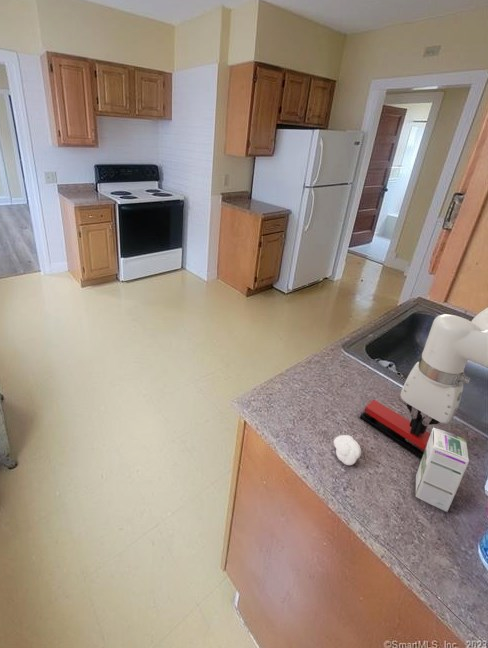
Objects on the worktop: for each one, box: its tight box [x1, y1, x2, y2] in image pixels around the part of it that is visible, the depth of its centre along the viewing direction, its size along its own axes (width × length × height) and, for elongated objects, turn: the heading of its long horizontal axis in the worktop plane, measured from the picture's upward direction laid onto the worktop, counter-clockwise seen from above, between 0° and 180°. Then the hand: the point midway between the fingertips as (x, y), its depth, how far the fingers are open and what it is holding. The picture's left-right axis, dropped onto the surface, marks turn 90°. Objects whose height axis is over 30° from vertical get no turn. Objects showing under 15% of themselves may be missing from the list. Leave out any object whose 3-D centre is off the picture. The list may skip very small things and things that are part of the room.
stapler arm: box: [363, 398, 431, 451], centre depth 80 cm, size 15×4×2 cm, turn 38°
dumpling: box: [333, 434, 362, 466], centre depth 75 cm, size 7×5×4 cm
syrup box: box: [414, 427, 470, 513], centre depth 65 cm, size 6×6×14 cm
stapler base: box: [359, 411, 424, 460], centre depth 81 cm, size 16×5×2 cm, turn 38°
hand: (416, 431), depth 77 cm, fingers closed
